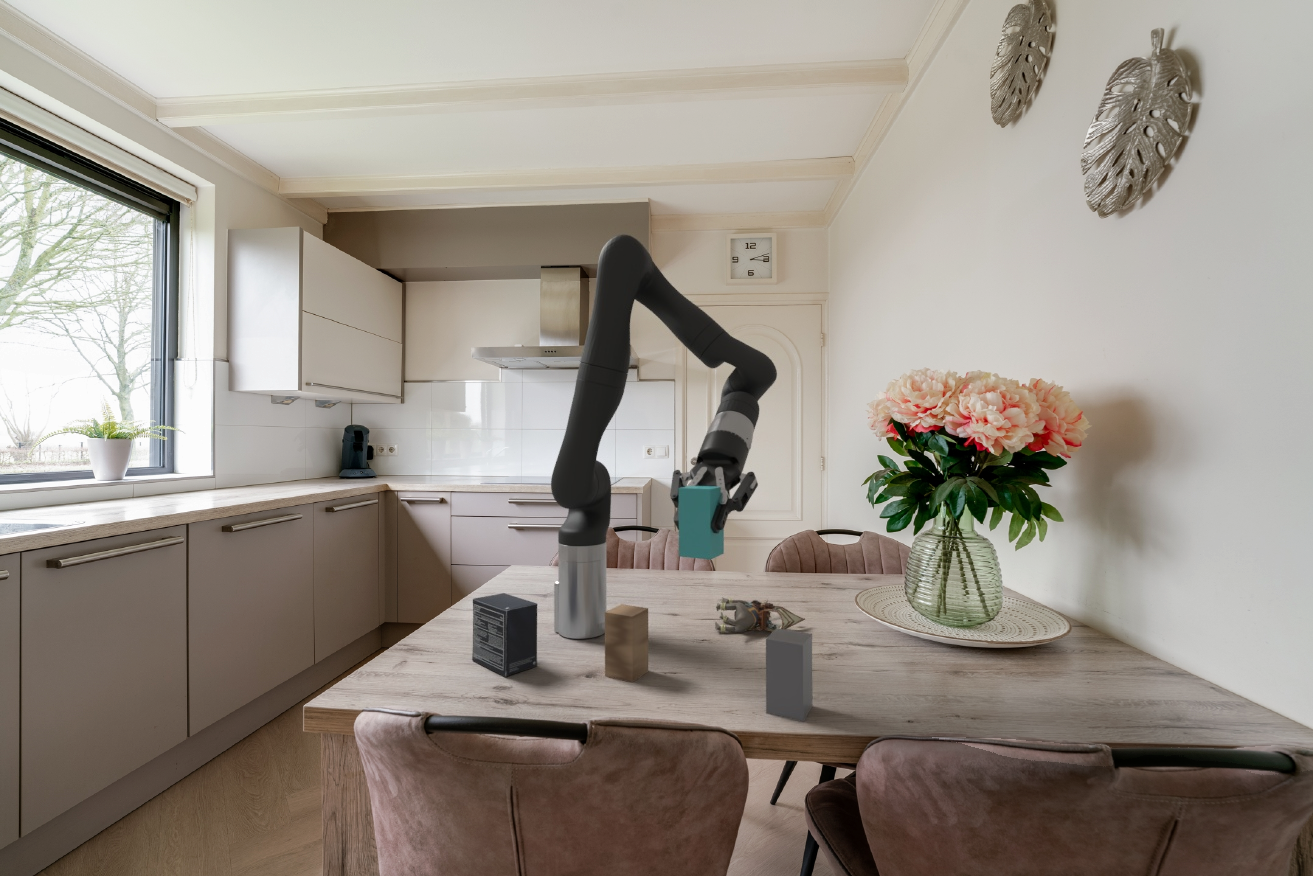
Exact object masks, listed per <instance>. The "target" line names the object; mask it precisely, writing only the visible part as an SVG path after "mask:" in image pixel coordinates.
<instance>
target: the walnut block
mask: <svg viewBox="0 0 1313 876" xmlns="http://www.w3.org/2000/svg"><path fill="white" fill-rule="evenodd" d="M648 672H649V608H648V607H643V606H636V605H628V604H623V603H621V604H619V605H617V606H615V607H612V608H610V609H609V610H606V612H605V633H604V677H607V678H612V679H616V680H620V681H625V682H629V683H634V682H635V681H637V680H638V679H639V678H641V677H642V676H644V675H645V674H646V673H648Z"/></svg>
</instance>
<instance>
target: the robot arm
mask: <svg viewBox="0 0 1313 876" xmlns="http://www.w3.org/2000/svg"><path fill="white" fill-rule="evenodd" d="M652 258H653V257H652V255H650V253H649V251H648V249H646V247H645V246H644V245H643V244H642V243H641V241H640V240H638V239H637V238H636V237H634V236H632V235H629V234H618V235H615V236H613V237H612V238H610V239H609V240H608V241H607V242H606V243H605V244H604V245H603V247H602V249H601V251H600V254H599V257H598V262H597V271H596V278H595V279H596V281H595V289H594V290H595V292H594V299H593V306H592V310H591V316H590V320H589V323H588V326H587V330H586V331H587V332H586V335H585V341H584V346H583V349H582V350H583V351H582V354H581V357H580V362H579V366H578V370H577V376H576V379H575V386H574V387H575V388H574V392H573V396H572V400H571V401H572V402H571V406H570V411H569V415H568V420H567V424H566V429H565V431H564V432H565V433H564V435H563V439H562V442H561V446H560V449H559V452H558V455H557V457H556V460H555V463H554V466H553V467H554V468H553V471H552V473H551V478H550V479H551V481H550V489H551V493H552V494H551V495H552V496H553V499H554V501H555V502H556V503H557V504H558V505H559V506H560V507H561V508H563V509H567V510H568V512H567V516H566V519H565V521H564V523H562V525H560V527H559V529H558V532H557V533H558V534H557V538H558V539H557V540H558V541H557V542H558V543H557V546H558V548H557V550H558V551H557V552H558V553H557V554H558V563H557V564H558V566H557V567H558V568H557V569H558V578H557V579H558V580H557V581H555V582H554V585H553V586H554V587H553V592H554V593H553V600H554V601H553V622H554V624H553V627H554V630H553V631H554V632H555V633H558V634H559V635H560V636H562V637H564V638H568V639H575V640H576V639H578V640H579V639H591V638H596V637H599V636H602V635H603V634H604V635H605V612H606V611H608V610H607V605H608V604H607V603H608V602H607V534H608V530H609V527H610V524H611V512H612V511H611V508H612V507H611V505H612V482H611V481H612V480H611V476H610V473H609V471H608V469H607V467H606V466H605V464H604V463H602V462H601V461H599V460H597V456H598V453H599V452H598V451H599V447H600V444H601V441H602V437H603V435H604V434H605V431H606V429H607V428H608V425H609V423H610V422H611V420H612V419H613V417H614V415H615V414H616V412H617V410H618V409H619V408H618V407H620V404H621V402H622V400H623V396H624V393H625V388H626V385H627V379H628V375H629V369H630V364H631V362H630V361H631V316H632V311H633V306H634V304H635V303H634V302H635V301H636V302H638V303H639V304H641V305H643V307H645V308H646V309H648V310H649V311H650V312H651V313H653V314H654V315H655V316H656V317H657V318H658V319H659V320H660V321H661V322H662V323H663V324H664V325H665V326H666V327H667V328H668V329H669V331H670V332H671V333H672V334H673V335H674V336H675V338H677V339H678V340H679V342H681V343H682V345H684V347H686V348H687V350H688V351H690V353H692V354H693V355H694V356H695V357H696V358H697V359H698V360H699V361H700V362H702V364H704V365H705V367H707V368H709V369H716V368H718V367H720V366H722V365H723V364H724V363H726V364H729V365H731V366H732V367H735V368H734V369H733V370H732V372H731V373H730V374H729V375H728V377H727V378H726V380H725V382H724V385H723V387H722V389H721V394H720V402H719V403H720V404H719V405H718V408H717V410H716V413H715V415H714V417H713V419H712V421H711V423H710V425H709V427H708V429H707V431H706V434H705V436H704V439H703V441H702V443H701V445H700V447H699V452H697V457H696V461H695V464H694V466H693V467H692V468H691V469H690V471H686V472H681V470H680V469H675V470H674V471H673V472H672V479H671V487H670V493H669V497H670V500H671V501H672V503H673V505H674V507H675V509H676V511H675V513H674V516H673V523H674V524H675V526H676V528H677V530H678V531H679V488H681V487H687V486H717V487H721V493H720V496H719V503H720V504H719V505H717V506H716V509H715V512H714V515H713V518H712V521H711V524H710V526H711V529H712V531H713V533H717V534H718V533H719V531H720V530H722V529H723V528H725V526H726V524H727V523H726V522H727V519H728V516H729V514H731V513H732V512H735V511H736V512H738V513H740V512H743V510H744V509H745V507H746V506H747V504H748V503H749V501H750V500H751V498H752V496H753V495H754V493H755V491H756V490H757V488H758V486H759V483H758V479H757V477H756V474H755V472H754V471H748V472H747V473H743V471H744V468H745V466H746V465H745V464H746V462H747V458H748V456H749V452H750V450H751V448H752V444H753V438H754V432H755V429H756V426H757V423H758V420H759V417H760V405H759V402H758V401H759V400H760V399H761V398H762V397H763V396H764V394H766V393H767V391H768V390H770V388H771V387H772V386H773V385H774V384H775V382H776V380H777V376H778V371H777V368H776V365H775V363H774V362H773V360H772V359H771V358H770V357H769V356H768V355H766V354H765V353H764V352H762V351H760V350H759V349H756V348H754V347H752V346H750V345H748V344H746V343H745V342H743V341H741V340H740V339H737V338H735V337H734V336H731V335H730V334H729V332H727V331H726V330H725V329H724V327H722V326H721V325H720V324H719V323H717V322H716V321H715V320H714V319H713V318H712V317H711V316H710V315H708V314H707V313H706V312H705V311H704V310H703V309H701V308H700V307H699V306H698V305H696V304H695V303H693V302H692V301H691V300H689V299H688V298H687V297H685V296H684V295H683V294H682V293H681V292H680V291H678V289H676V288H675V286H673V285H672V283H671V282H670V281H669V280H668V279H667V278H666V277H665V274H664V273H662V271H661V270H660V268H659V267H658V266H657V265H656V264H655V262H654V260H653V259H652ZM689 481H690V482H689ZM688 482H689V483H688ZM737 485H738V486H737ZM736 486H737V489H736V490H735V492H734V494H733V495H732V497H731V490H733V488H735V487H736Z"/></svg>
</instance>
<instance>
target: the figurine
mask: <svg viewBox="0 0 1313 876" xmlns="http://www.w3.org/2000/svg"><path fill="white" fill-rule="evenodd" d="M721 598H722V599H720V603H718V602H717V604H716V606H715V609H716V611H717V612H719V610H720V615H719V619H720V620H722V621H723V623H728V624H730V625H732V626H726V625H725V624H723V623H722V624H720V625H719V624H718V623H717V621H714V627H715V628H714V629H715V630H716V631H719V632H720V633H722V634H724V633H725V632H727V633H733V634H741V633H744V632H749V631H752V630H758V631H764V630H765V631H767V632H771V633H772V632H773V631H774V630H775V629H776V628H778V629H785V630H788V628H790V627H794V626H795V625H797V624H800V623H801V622H803V621H805V620H806V618H803V617H801V616H800V615H798V614H795V613H793V612H791V611H790V610H788V609H787V608H785V607H783V606H779V605H774V604H773V603H771V602H768V601H769V599H766V598H765V601H763V602H761V601H759V600H757V599H752V601H750V602H749V601H746V600H742V599H733V598H731V597H730V598H725V597H724V596H722V597H721ZM724 611H734V616H733V617H734V619H732V618H729V616H728V615H724V614H723V612H724ZM772 612H774V613H777V614H778V615H779V619H780V620H781V625H776V624H773V623H772V620H771V619H770V618H772V616H771V614H772ZM757 626H758V627H757ZM778 626H780V627H778Z"/></svg>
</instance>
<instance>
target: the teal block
mask: <svg viewBox="0 0 1313 876" xmlns="http://www.w3.org/2000/svg"><path fill="white" fill-rule="evenodd" d="M720 493H721V487H717V486H687V487H681V488H679V530H678V557H680V558H691V559H700V560H714V559H715V558H717V557H719V556H721V555H724V554H725V553H724V549H725V548H724V547H725V543H724V542H725V541H724V540H725V535H724V533H725V532H724V531H725V530H724V528H725V527H724V528H723V529H722V530H720V531H719V533H718V534H717V533H713V531H712V529H711V526H710V524H711V521H712V518H713V515H714V512H715V509H716V506H717V505H719V504H720V503H719V496H720Z"/></svg>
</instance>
